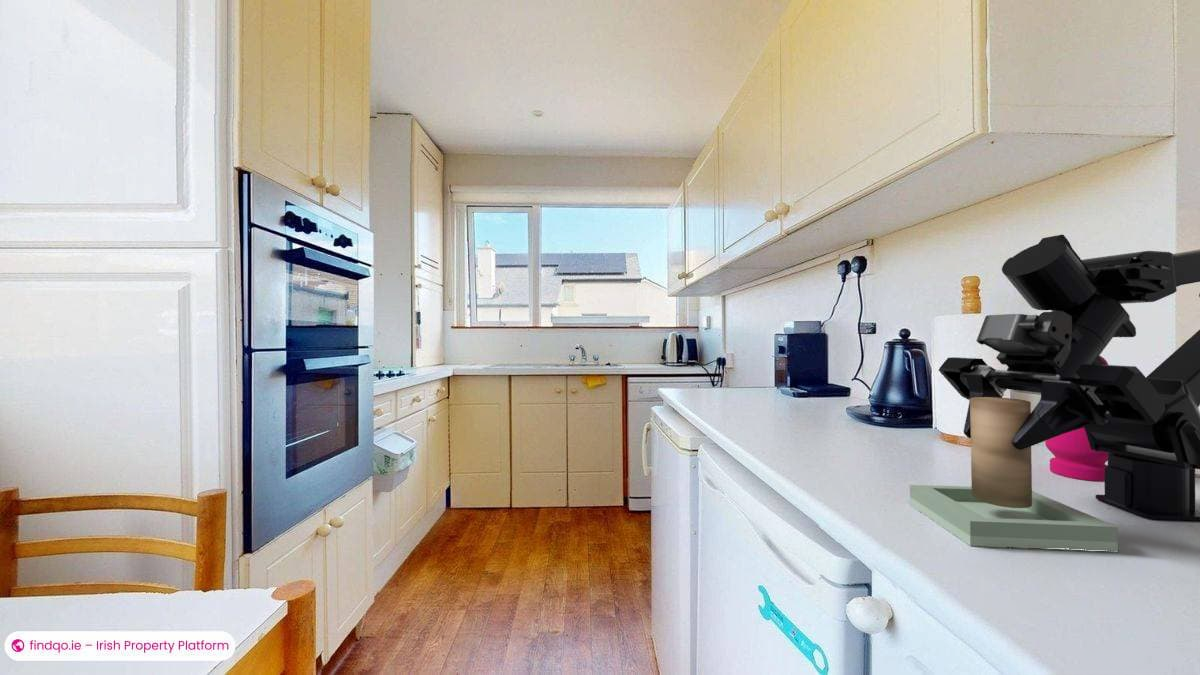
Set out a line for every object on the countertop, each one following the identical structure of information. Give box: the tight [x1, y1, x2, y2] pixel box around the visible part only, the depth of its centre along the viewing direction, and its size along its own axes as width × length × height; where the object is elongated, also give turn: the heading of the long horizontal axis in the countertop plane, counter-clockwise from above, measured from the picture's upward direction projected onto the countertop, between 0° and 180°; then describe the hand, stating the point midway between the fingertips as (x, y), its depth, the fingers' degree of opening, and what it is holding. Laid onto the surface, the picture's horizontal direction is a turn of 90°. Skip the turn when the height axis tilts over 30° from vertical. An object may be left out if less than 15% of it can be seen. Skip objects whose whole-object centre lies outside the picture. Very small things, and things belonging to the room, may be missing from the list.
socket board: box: [909, 484, 1119, 551], centre depth 50 cm, size 13×11×2 cm
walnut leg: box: [970, 397, 1033, 508], centre depth 50 cm, size 5×5×11 cm
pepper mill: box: [1044, 354, 1112, 482], centre depth 67 cm, size 7×7×20 cm
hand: (990, 440), depth 50 cm, fingers closed on walnut leg, 5 cm apart
